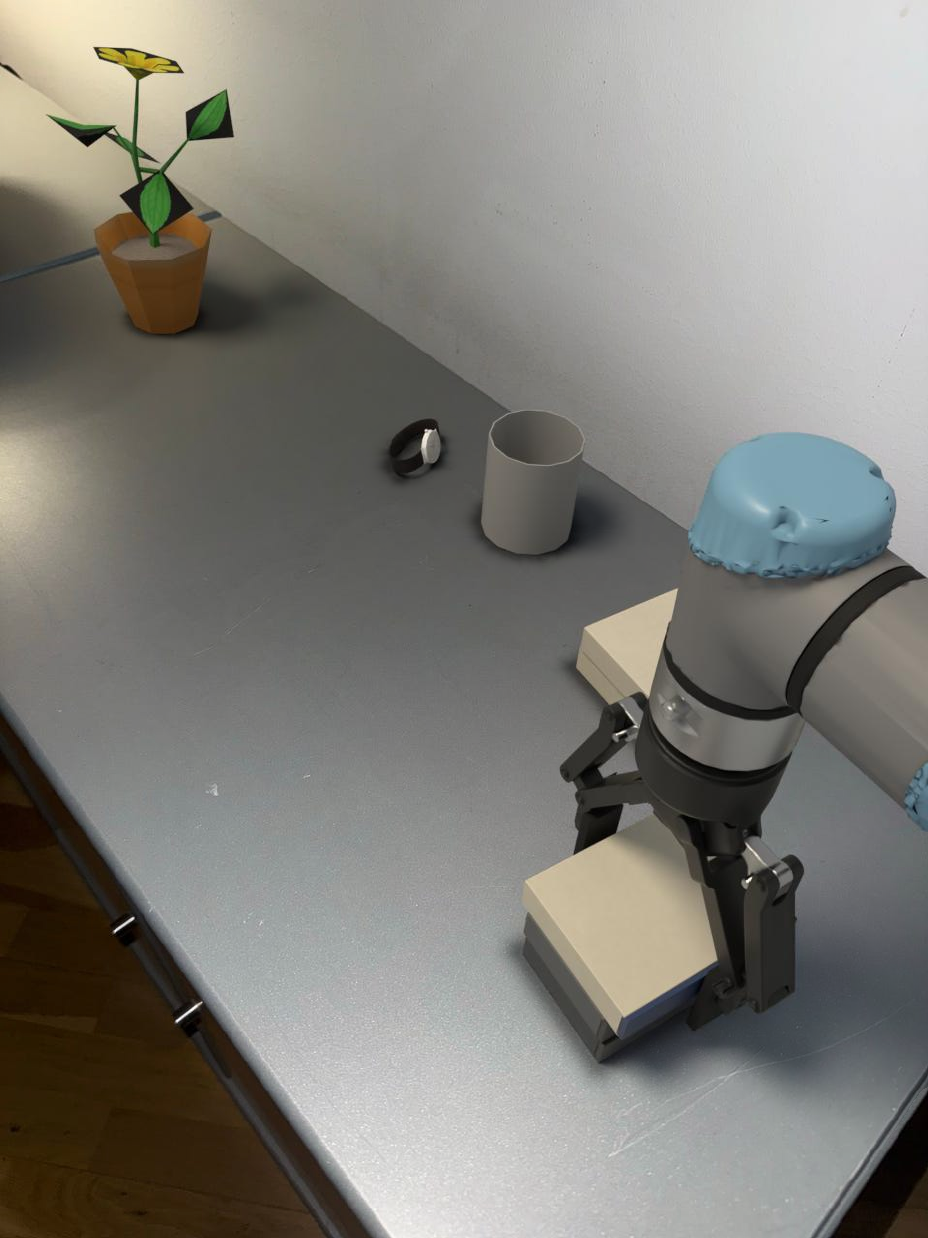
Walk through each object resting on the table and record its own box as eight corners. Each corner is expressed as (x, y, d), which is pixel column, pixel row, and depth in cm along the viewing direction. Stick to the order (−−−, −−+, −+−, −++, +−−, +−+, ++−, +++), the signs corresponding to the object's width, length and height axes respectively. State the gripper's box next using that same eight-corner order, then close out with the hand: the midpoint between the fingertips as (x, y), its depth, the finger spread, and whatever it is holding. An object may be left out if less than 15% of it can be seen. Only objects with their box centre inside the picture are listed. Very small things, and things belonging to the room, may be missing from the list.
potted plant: (250, 356, 120) (223, 65, 99) (73, 360, 117) (6, 62, 96) (250, 277, 132) (226, 4, 111) (90, 280, 130) (34, 0, 108)
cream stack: (780, 695, 89) (797, 652, 85) (654, 757, 83) (666, 715, 80) (696, 614, 95) (709, 572, 91) (574, 668, 89) (582, 625, 86)
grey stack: (756, 964, 72) (776, 926, 68) (596, 1064, 66) (609, 1028, 63) (674, 866, 76) (688, 825, 73) (519, 952, 71) (526, 912, 68)
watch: (421, 484, 105) (422, 454, 103) (376, 471, 106) (377, 441, 104) (450, 442, 111) (452, 412, 108) (408, 430, 112) (409, 400, 109)
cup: (463, 516, 102) (470, 427, 95) (530, 486, 106) (541, 399, 99) (520, 566, 98) (532, 477, 91) (588, 533, 102) (604, 445, 95)
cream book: (787, 938, 67) (798, 918, 66) (621, 1042, 62) (628, 1022, 60) (680, 816, 73) (688, 794, 72) (520, 901, 68) (524, 880, 66)
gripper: (526, 597, 60) (495, 825, 75) (840, 943, 46) (723, 1136, 61) (633, 554, 63) (583, 782, 78) (959, 866, 49) (819, 1068, 64)
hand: (644, 938), depth 70 cm, fingers open, 11 cm apart
